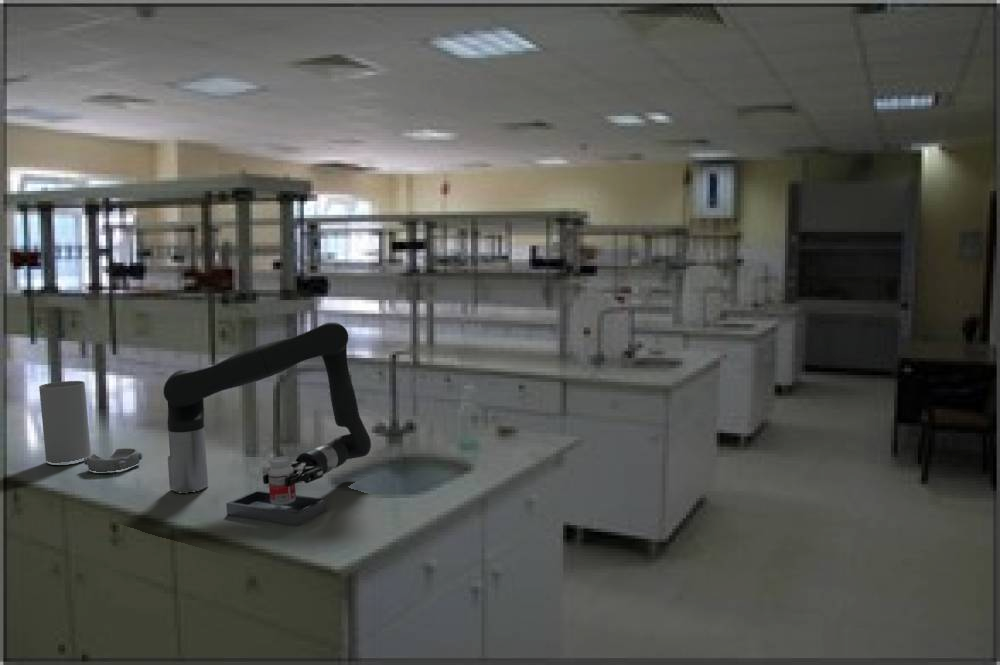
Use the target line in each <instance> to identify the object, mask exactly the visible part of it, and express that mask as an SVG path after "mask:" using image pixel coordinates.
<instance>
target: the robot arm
mask: <svg viewBox="0 0 1000 665" xmlns="http://www.w3.org/2000/svg"><path fill="white" fill-rule="evenodd" d="M348 342H349V333H348V330H347V328H346V327H345V326H343V325H342V324H341V323H339V322H335V321H329V322H325V323H323V324H321V325H319V326H317V327H314V328H312V329H310V330H308V331H306V332H303V333H301V334H298V335H295V336H292V337H288V338H282V339H279V340H275V341H271V342H268V343H263V344H260V345H257V346H254V347H251V348H249V349H248V348H247V349H245V350H243V351H240V352H238V353H236V354H233V355H231V356H230V357H227V358H226V359H224V360H222V361H219V363H216V364H214V365H212V366H208V367H205V368H200V369H197V370H193V371H192V370H189V369H180V370H176V371H175V372H174V373H172V374H171V375H170V376H169V377H168V379H167V380H166V381H165V383H164V386H163V396H164V398H165V401H167V431H168V432H167V433H168V442H169V443H168V444H169V455H168V456H167V469H168V481H169V484H168V485H169V490H170V489H173V491H175V492H181V493H186V492H193V491H198V490H201V489H204V488H206V487H207V486H208V487H209V480H208V464H207V463H208V462H207V448H206V437H205V436H206V434H205V408H204V399H205V398H208V397H210V396H212V395H215V394H217V393H220V392H223V391H225V390H229V389H233V388H238V387H240V386H245V385H248V384H251V383H255V382H259V381H261V380H264V379H267V378H271V377H272V376H275V375H278V374H281V373H282V372H285V371H286V370H288V369H290V368H293V367H294V366H297V365H298V364H299V363H302V362H304V361H307V360H311V359H315V358H317V357H320V356H321V357H322V360H323V363H324V366H325V370H326V373H327V379H328V386H329V394H330V402H331V408H332V412H333V418H334V422H335V424H336V426H337V427H340V428H342V427H343V428H346V429H347V430H348V432H349V433H348V434H347V433H346V434H343V435H340V436H337V437H335V438H334V439H332V440H331V441H330V442H328V443H325V444H323V445H320V446H316V447H314V448H312V449H310V450H307V451H304V452H303V453H300V454H299V455H298V456H297V458H296V459H295V461H293V462H290V464H289V465H290V466H292V467H293V469H294V474H293V475H291V476H289V477H287V478H285V486H286V487H290V486H292V485H294V484H295V485H296V484H301V483H305V484H309V483H311V482H314V481H316V480H319V479H320V478H323V477H324V475H326V474H328V473H330V472H331V471H332V470H335V469H336V468H338V467H340V466H342V465H343V464H344V463H346V462H347V461H348V460H352V459H356V458H362V457H366V456H367V455H368V454H369V453H370V452H371V447H372V441H371V438H370V435H369V433H368V431H367V429H366V427H365V425H364V423H363V420H362V418H361V416H360V412H359V407H358V402H357V396H356V392H355V389H354V386H353V382H352V379H351V375H350V370H349V365H348V364H349V363H348V355H347V354H348V351H347V350H348V349H347V348H348V347H347V346H348ZM270 468H272V466H270V467H269V468H268V470H267V472H268V471H269V469H270ZM262 480H263V481H262V483H263V485H267V484H268V485H269V477H268V473H266V474H264V475H263V476H262ZM208 487H207V488H208ZM207 488H206V489H207ZM204 490H205V489H204ZM173 491H172V492H173ZM198 492H199V491H198ZM186 494H187V493H186Z"/></svg>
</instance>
